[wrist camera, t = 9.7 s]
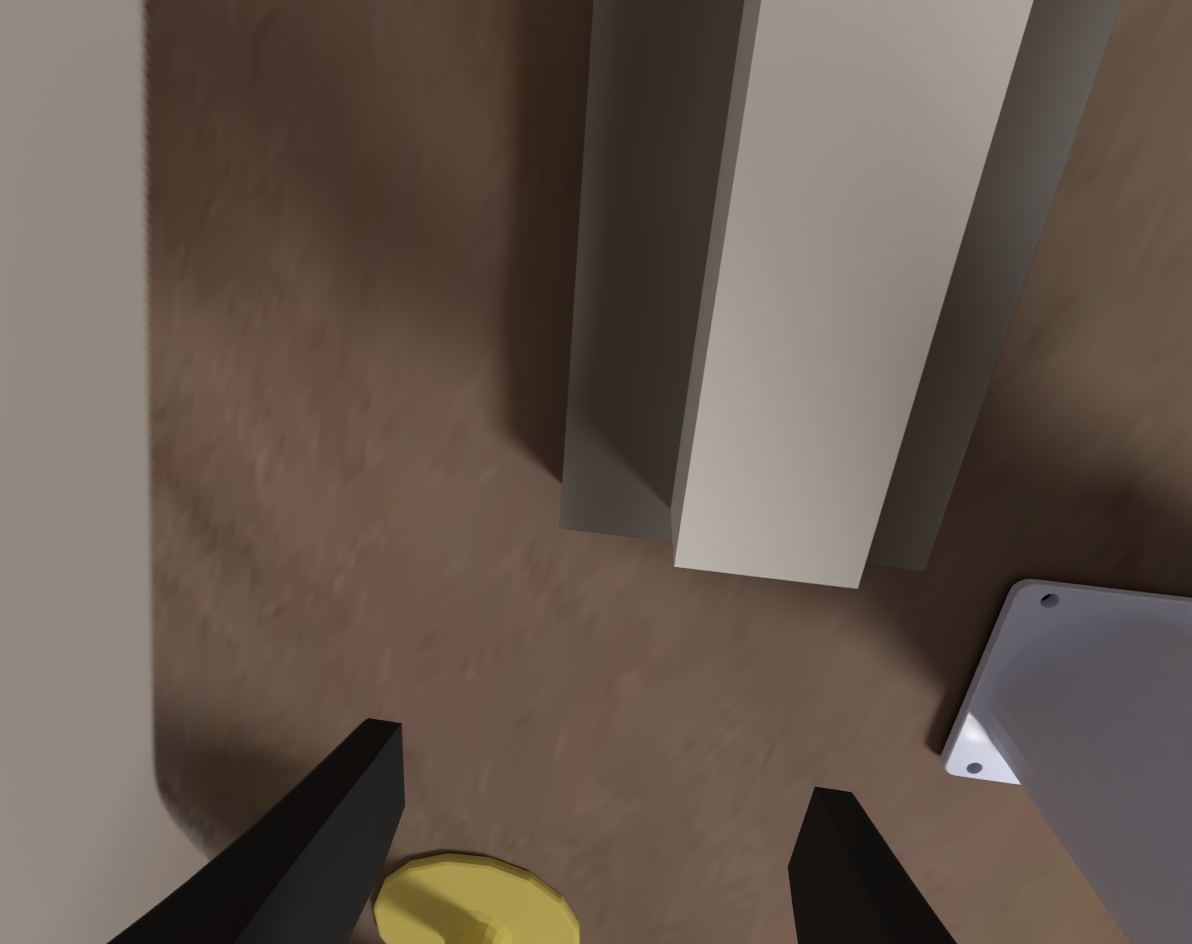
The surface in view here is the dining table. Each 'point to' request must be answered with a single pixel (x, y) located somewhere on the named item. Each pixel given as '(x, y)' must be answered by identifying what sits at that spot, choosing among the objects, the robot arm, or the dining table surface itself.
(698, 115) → the socket board
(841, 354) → the cream rectangular block
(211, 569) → the dining table surface
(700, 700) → the dining table surface
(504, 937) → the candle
